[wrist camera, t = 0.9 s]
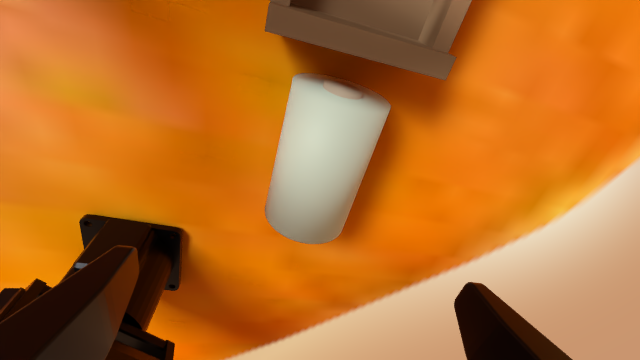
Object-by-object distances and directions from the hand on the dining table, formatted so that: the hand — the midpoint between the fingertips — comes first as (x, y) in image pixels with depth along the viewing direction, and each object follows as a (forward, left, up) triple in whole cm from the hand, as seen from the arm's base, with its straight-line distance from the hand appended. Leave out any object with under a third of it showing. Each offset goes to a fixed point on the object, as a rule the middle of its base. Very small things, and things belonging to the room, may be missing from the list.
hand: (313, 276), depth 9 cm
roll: (-2, -1, -12) cm, 12 cm away
